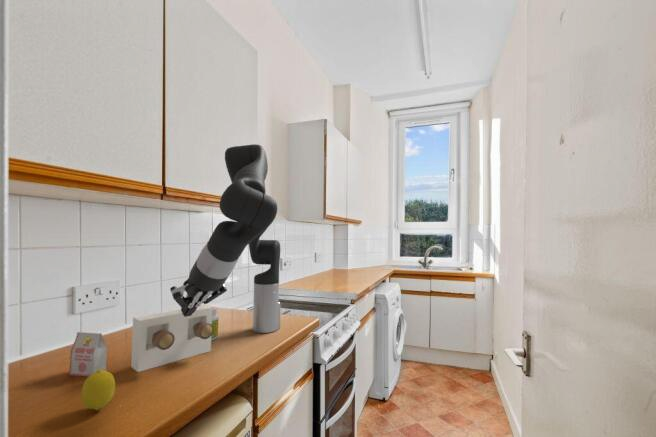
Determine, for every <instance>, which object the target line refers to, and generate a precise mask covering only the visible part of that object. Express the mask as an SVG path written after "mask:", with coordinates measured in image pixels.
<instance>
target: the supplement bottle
mask: <svg viewBox="0 0 656 437" xmlns="http://www.w3.org/2000/svg"><path fill="white" fill-rule="evenodd" d="M212 326H213V328H214V330H213V333H212V335H211V341H215V340H216V339H217V338H218V337H219V316H218V315H217V308H215V307H212Z"/></svg>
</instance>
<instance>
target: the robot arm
mask: <svg viewBox="0 0 656 437" xmlns="http://www.w3.org/2000/svg"><path fill="white" fill-rule="evenodd" d="M224 162H225V166H226V170H227V173H228V176H229V178H230V182H231V184H230V185H228V187H226V188H225V190H224V191H223V193H222V195H221V197H220V201H219V210H220V211H221V213H222V215H224V217H226V218H228V219H229V220H224V221H221V222H219V223H218V224H217V225H216V226H215V228H214V230H213V232H212V234H211V235H210V238H209V240H207V242H206V244H205V245H204V246H203V248H202V249H201V251H200V253H199V255H198V256H197V258H196V260H195V262H194V264H193V266H192V267H191V269H190V271H189V274H188V275H189V276H188V278H187V279H186V280H185V281H184V282H183V284H182V285H181V286H178V287H177V286H175V285H174V286H171V287H170V290H169V291H170V292H171V295H172V298H173V300H174V301H175V302H176V303H177V305H179V307H180V309H181V311H182V314H183V315H184V317H187V316H191V315H192V314H193V313H194V312H195V311H196V309H197V307H199V306H201V305H202V304H203V305H207V304H209V303H210V302H212V301H214V300H215V299H216V298H218V297H219V296H221V295H223V294H224V293H226V292H227V291H228V289H227V287H226V285H225V283H226V281H227V280H228V278H229V276H230V275H231V273H232V272H233V270H234V269H235V267H236V265H237V263H238V260H239V258H240V257H241V255H242V253H243V252H244V250H245V249H246V247H247V246H248V250H249V254H250V260H251V262H252V263H253V264H255V265H269V266H270V267H269V268H268V269H267V270H265V271H263V272H260V273H257V274H256V275H254V277H253V306H252V308H253V311H252V312H253V313H252V331H253V332H255V333H261V334H266V333H267V334H268V333H274V332H276V331H278V329H280V328H281V306H282V305H281V302H280V301H279V300H280V299H279V298H280V261H281V243H280V241H279V240H277V239H260V238H261V237H262V235H263V234H264V233H265V232H266V231H267V230H268V228H269V227H270V226H271V224H272V223H273V222H274V220H275V219H276V216H277V213H278V203H277V202H276V200H275V199H274V198H273V197H272V196H270V195H268V194H266V192H267V191H266V184H265V183H266V182H265V181H266V179H267V175H268V170H269V169H268V168H269V165H268V158H267V154H266V150H265V148H264V147H263V146H262V145H260V144H257V143H255V144H247V145H246V144H245V145H234V146H231V147H227V148H226V150H225V152H224ZM185 292H186V296H184V294H185Z"/></svg>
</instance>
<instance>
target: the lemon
mask: <svg viewBox="0 0 656 437" xmlns="http://www.w3.org/2000/svg"><path fill="white" fill-rule="evenodd" d="M115 392H116V380H115V377H114V375H113V374H112V373H111V372H110V371H108V370H106V371H104V370H102V369H99V370H97V372H94V373H93V374H91V375H90V376H89V377H87V378H86V379H85V381H84V383H83V385H82V388H81V396H80V397H81V401H82V405H84V407H85V408H87V409H91V410H95V411H97V412H98V411H100V410H101V408H103V407H104V406H106V405H107V404H109V402H111V400H112V399H113V397H114V394H115Z"/></svg>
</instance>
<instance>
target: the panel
mask: <svg viewBox="0 0 656 437" xmlns="http://www.w3.org/2000/svg"><path fill="white" fill-rule="evenodd" d="M212 308H213V307H212V306H209V305H207V304H203V305H202V304H201V305H200V306H199V307H197V309H196V311H195V312H194V313H193V314H192V315H191V316H187V317H184V315H183V314H182V311H181V308H177V309H173V310H167V311H162V312H155V313H150V314H144V315H143V314H142V315H138V316H133V317H132V337H131V358H130V363H131V364H130V367H131V368H132V369H133V370H134V371H135V372H137V373H140V372H143V371H147V370H151V369H153V368H157V367H161V366H165V365H167V364H171V363H175V362H179V361H182V360H184V359H188V358H191V357H194V356H198V355H201V354H205V353H208V352H211V351H212V340H211V336H210V337H209V338H208V339H201V338H199V337H197V336H196V335H195V334H194V330H193V326H194V324H196V323H198V322H200V321H205V322H207V323H210V324H212ZM159 330H167V331H169V332H171V333H172V334H173V335H174V337H175V340H174V343H173V345H172V346H171V347H170V348H168V349H166V350H161V349H159V348H157V347H156V346H154V345H153V343H152V338H153V334H154V333H155V332H157V331H159Z"/></svg>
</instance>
